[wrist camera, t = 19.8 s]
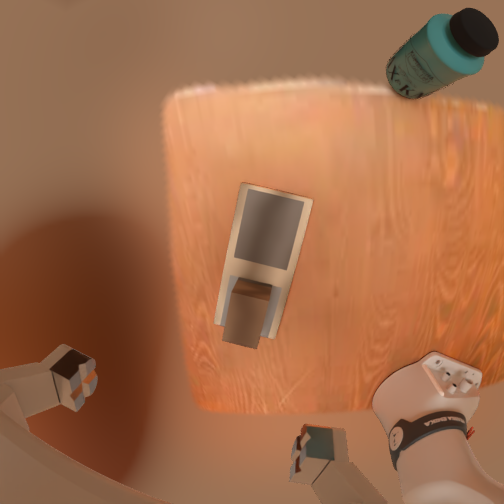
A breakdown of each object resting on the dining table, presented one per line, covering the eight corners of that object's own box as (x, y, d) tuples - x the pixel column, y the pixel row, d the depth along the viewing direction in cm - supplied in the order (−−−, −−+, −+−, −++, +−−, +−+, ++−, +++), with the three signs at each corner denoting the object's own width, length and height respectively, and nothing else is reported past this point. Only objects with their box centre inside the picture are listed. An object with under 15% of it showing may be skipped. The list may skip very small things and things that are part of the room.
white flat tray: (312, 198, 38) (313, 200, 36) (275, 334, 44) (274, 339, 42) (243, 182, 38) (240, 182, 37) (215, 318, 44) (213, 323, 43)
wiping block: (272, 284, 40) (269, 301, 35) (261, 329, 42) (256, 349, 37) (238, 276, 40) (231, 292, 35) (230, 321, 42) (222, 340, 38)
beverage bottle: (395, 49, 30) (459, -21, 11) (433, 80, 30) (519, 36, 11) (372, 80, 32) (432, 17, 13) (412, 113, 32) (499, 81, 13)
